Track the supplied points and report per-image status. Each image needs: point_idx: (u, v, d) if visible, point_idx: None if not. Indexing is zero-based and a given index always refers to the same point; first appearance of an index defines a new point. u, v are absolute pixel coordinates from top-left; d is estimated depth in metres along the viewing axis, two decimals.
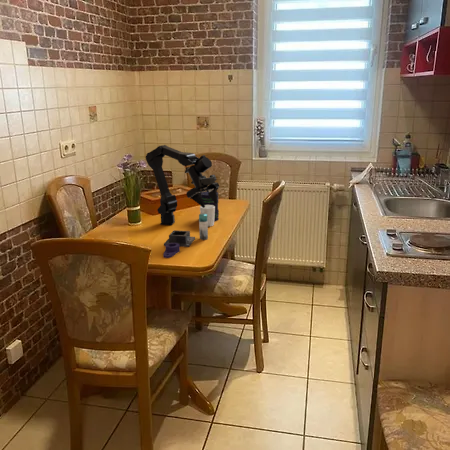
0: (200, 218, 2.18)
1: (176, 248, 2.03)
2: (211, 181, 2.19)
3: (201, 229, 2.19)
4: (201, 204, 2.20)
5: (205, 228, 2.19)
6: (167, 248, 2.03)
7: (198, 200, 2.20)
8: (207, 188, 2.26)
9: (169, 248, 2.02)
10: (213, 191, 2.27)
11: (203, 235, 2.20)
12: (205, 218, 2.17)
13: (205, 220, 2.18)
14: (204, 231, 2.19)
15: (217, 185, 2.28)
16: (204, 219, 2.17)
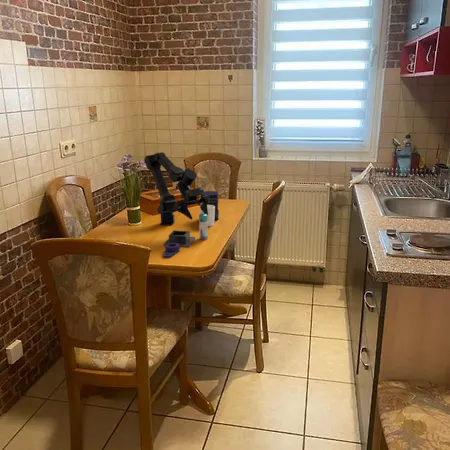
0: (200, 218, 2.18)
1: (176, 248, 2.03)
2: (196, 192, 2.18)
3: (201, 229, 2.19)
4: (188, 216, 2.19)
5: (205, 228, 2.19)
6: (167, 248, 2.03)
7: (185, 212, 2.19)
8: (197, 201, 2.25)
9: (169, 248, 2.02)
10: (203, 204, 2.25)
11: (203, 235, 2.20)
12: (205, 218, 2.17)
13: (205, 220, 2.18)
14: (204, 231, 2.19)
15: (207, 197, 2.26)
16: (204, 219, 2.17)
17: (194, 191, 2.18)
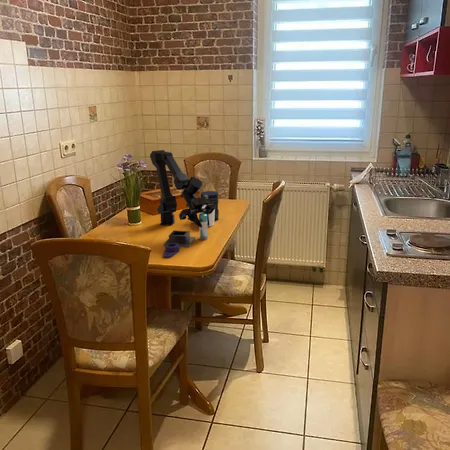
0: (200, 218, 2.18)
1: (176, 248, 2.03)
2: (202, 201, 2.16)
3: (201, 229, 2.19)
4: (198, 224, 2.18)
5: (205, 228, 2.19)
6: (167, 248, 2.03)
7: (195, 220, 2.19)
8: (202, 209, 2.23)
9: (169, 248, 2.02)
10: (205, 213, 2.22)
11: (203, 235, 2.20)
12: (205, 218, 2.17)
13: (205, 220, 2.18)
14: (204, 231, 2.19)
15: (213, 206, 2.24)
16: (204, 219, 2.17)
17: (200, 200, 2.16)
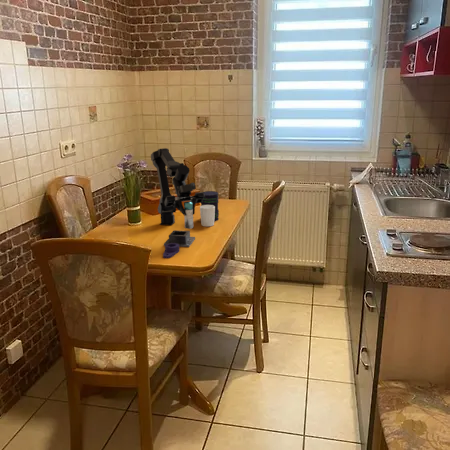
0: (184, 206, 2.13)
1: (176, 248, 2.03)
2: (186, 188, 2.11)
3: (185, 217, 2.14)
4: (182, 212, 2.13)
5: (189, 217, 2.13)
6: (167, 248, 2.02)
7: (180, 208, 2.14)
8: (190, 198, 2.18)
9: (169, 248, 2.02)
10: (191, 201, 2.16)
11: (187, 224, 2.14)
12: (189, 206, 2.12)
13: (189, 208, 2.12)
14: (188, 220, 2.14)
15: (201, 194, 2.17)
16: (188, 207, 2.12)
17: (184, 187, 2.10)
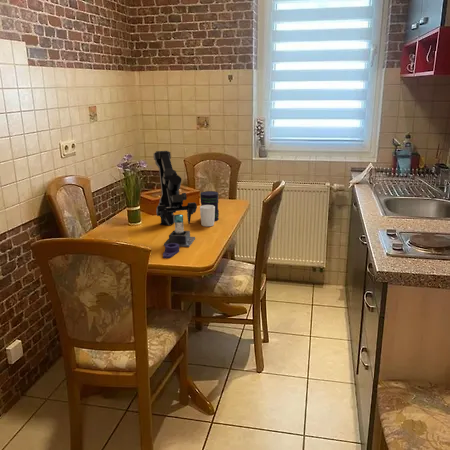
0: None
1: (176, 248, 2.02)
2: (176, 198, 2.11)
3: (175, 230, 2.14)
4: (167, 222, 2.13)
5: (179, 229, 2.14)
6: (167, 248, 2.02)
7: (165, 218, 2.14)
8: (182, 208, 2.17)
9: (169, 248, 2.02)
10: (188, 211, 2.16)
11: None
12: (179, 219, 2.12)
13: (179, 221, 2.13)
14: (178, 232, 2.14)
15: (193, 205, 2.16)
16: (177, 220, 2.12)
17: (174, 197, 2.10)
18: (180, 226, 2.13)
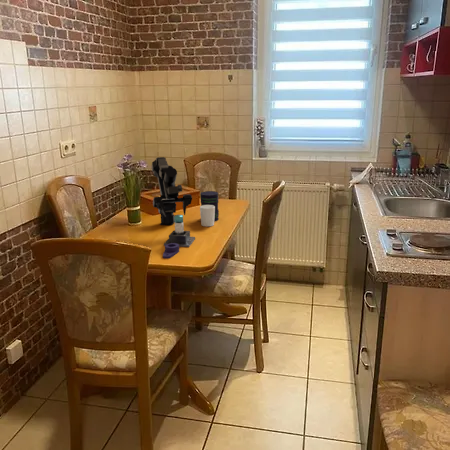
0: None
1: (176, 248, 2.02)
2: (172, 190, 2.19)
3: (175, 230, 2.14)
4: (163, 213, 2.21)
5: (179, 230, 2.13)
6: (167, 248, 2.02)
7: (162, 209, 2.22)
8: (178, 199, 2.25)
9: (169, 248, 2.02)
10: (183, 202, 2.24)
11: None
12: (179, 219, 2.12)
13: (179, 221, 2.12)
14: (178, 233, 2.14)
15: (188, 196, 2.24)
16: (177, 220, 2.12)
17: (170, 189, 2.19)
18: (180, 226, 2.13)
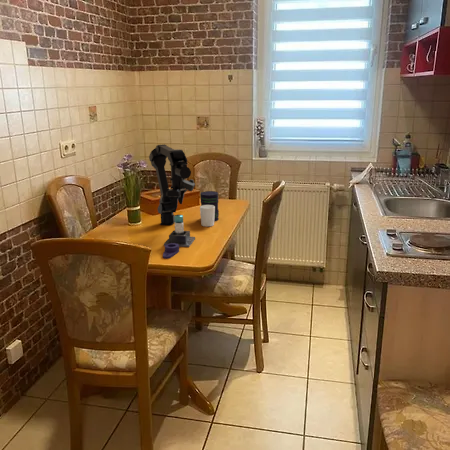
0: None
1: (175, 248, 2.02)
2: (192, 188, 2.26)
3: (175, 230, 2.14)
4: (174, 205, 2.25)
5: (179, 230, 2.13)
6: (166, 249, 2.02)
7: (174, 201, 2.24)
8: None
9: (168, 249, 2.02)
10: (182, 192, 2.33)
11: None
12: (179, 219, 2.12)
13: (179, 221, 2.12)
14: (178, 233, 2.14)
15: None
16: (177, 220, 2.12)
17: (192, 187, 2.24)
18: (180, 226, 2.13)
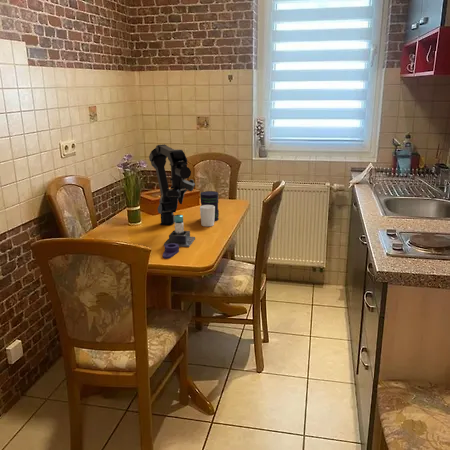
0: None
1: (175, 249, 2.02)
2: (192, 188, 2.26)
3: (175, 230, 2.14)
4: (175, 205, 2.25)
5: (179, 230, 2.13)
6: (166, 249, 2.02)
7: (174, 201, 2.24)
8: None
9: (168, 249, 2.02)
10: (182, 192, 2.33)
11: None
12: (179, 219, 2.12)
13: (179, 221, 2.12)
14: (178, 233, 2.14)
15: None
16: (177, 220, 2.12)
17: (192, 187, 2.24)
18: (180, 226, 2.13)
